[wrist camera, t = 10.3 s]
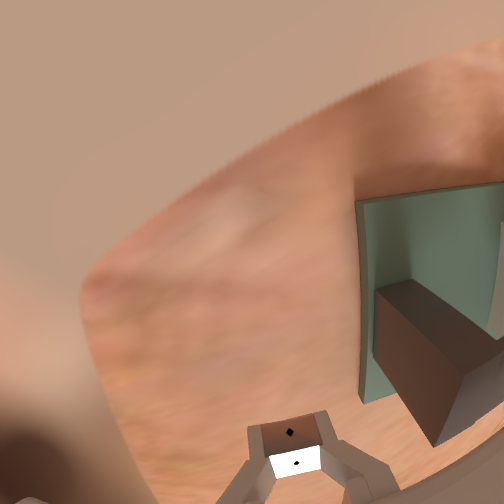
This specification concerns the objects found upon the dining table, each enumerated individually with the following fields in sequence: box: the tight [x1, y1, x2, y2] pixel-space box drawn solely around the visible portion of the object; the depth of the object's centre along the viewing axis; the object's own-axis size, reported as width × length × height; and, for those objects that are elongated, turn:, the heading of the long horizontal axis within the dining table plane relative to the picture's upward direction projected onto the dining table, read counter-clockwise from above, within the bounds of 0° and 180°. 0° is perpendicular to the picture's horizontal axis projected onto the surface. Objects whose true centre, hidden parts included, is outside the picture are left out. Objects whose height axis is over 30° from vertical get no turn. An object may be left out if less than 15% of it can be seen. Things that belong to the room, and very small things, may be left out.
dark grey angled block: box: [373, 279, 504, 448], centre depth 10 cm, size 6×4×7 cm
